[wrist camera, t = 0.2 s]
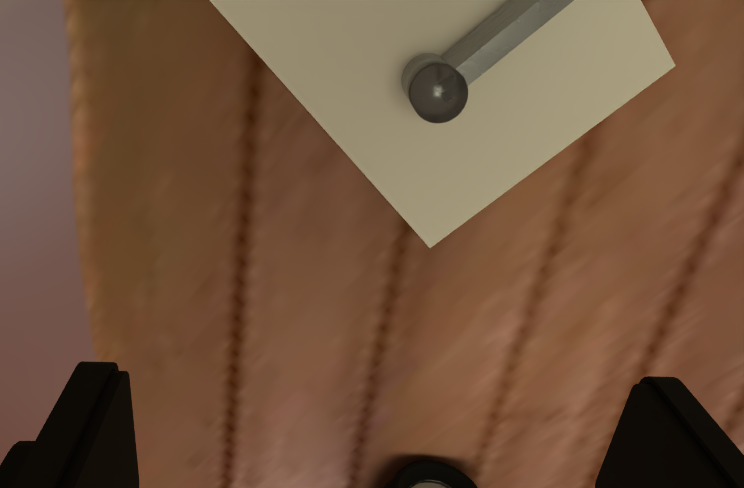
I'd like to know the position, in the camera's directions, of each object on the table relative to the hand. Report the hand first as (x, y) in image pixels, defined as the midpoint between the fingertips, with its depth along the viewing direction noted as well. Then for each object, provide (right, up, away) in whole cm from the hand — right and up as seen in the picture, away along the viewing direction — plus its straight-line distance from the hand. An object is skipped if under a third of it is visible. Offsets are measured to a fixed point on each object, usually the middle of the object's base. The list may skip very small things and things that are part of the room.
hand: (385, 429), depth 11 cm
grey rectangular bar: (+8, +17, +24) cm, 30 cm away
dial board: (+4, +18, +26) cm, 32 cm away
